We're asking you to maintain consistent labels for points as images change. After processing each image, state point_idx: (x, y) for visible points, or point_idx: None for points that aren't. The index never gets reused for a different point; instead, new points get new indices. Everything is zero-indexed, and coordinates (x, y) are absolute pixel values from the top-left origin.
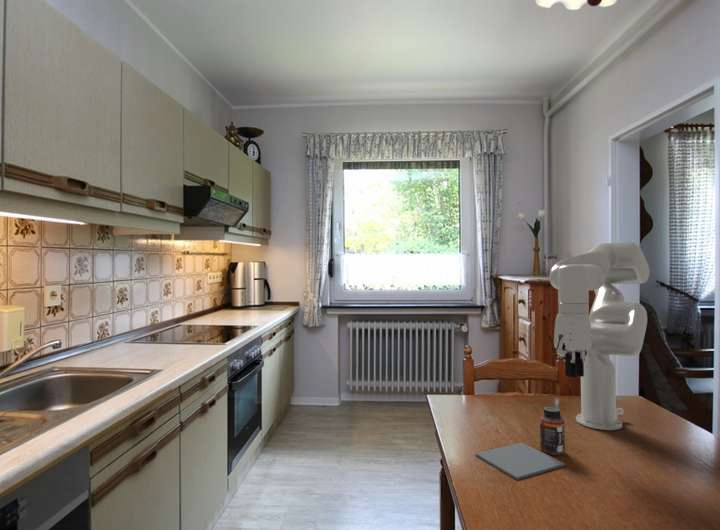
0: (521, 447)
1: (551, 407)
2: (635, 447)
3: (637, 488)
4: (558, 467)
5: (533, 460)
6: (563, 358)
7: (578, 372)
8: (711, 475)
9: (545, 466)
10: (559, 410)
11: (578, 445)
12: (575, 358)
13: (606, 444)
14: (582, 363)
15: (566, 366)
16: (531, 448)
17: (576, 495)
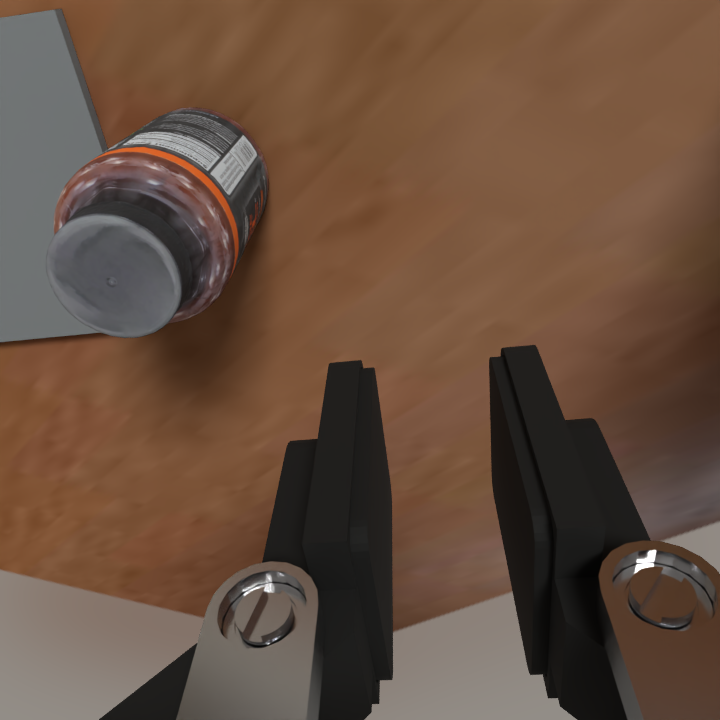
0: (19, 90)
1: (133, 247)
2: (701, 286)
3: None
4: None
5: (16, 254)
6: (149, 682)
7: (496, 483)
8: (658, 538)
9: (46, 322)
10: (157, 327)
11: (424, 156)
12: (576, 643)
13: (597, 202)
14: (546, 675)
15: (276, 521)
16: (79, 124)
17: (64, 483)
